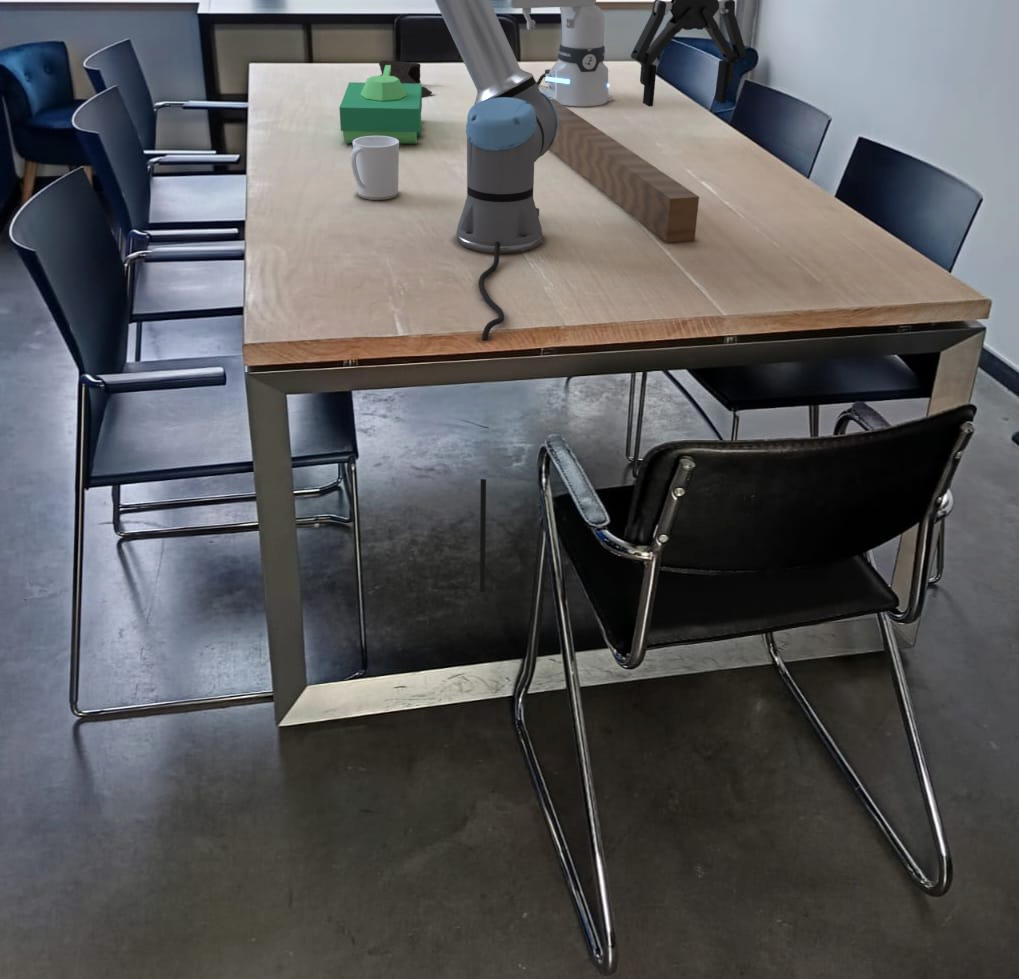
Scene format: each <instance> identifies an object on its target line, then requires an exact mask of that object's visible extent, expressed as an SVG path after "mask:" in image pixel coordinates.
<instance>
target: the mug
mask: <svg viewBox="0 0 1019 979" xmlns="http://www.w3.org/2000/svg"><path fill="white" fill-rule="evenodd" d="M399 160H400V143H399V141H398V140H397V139H396V138H393V137H388V136H364V137H359V138H356V139H354V140H353V143H352V152H351V154H350V165H351V169H352V170H351V171H352V172H353V177H354V179H355V181H356V190H357V195H358V196H359V197H360V198H361V199H366V200H370V201H371V200H372V201H381V200H382V201H383V200H390V199H393V198H396V197H397V196H398V194H399V173H400V172H399V169H400V168H399V164H400V161H399Z"/></svg>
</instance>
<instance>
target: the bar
mask: <svg viewBox="0 0 1019 979" xmlns="http://www.w3.org/2000/svg"><path fill="white" fill-rule="evenodd" d="M550 100H551V101H552V102H553V104H554V106H555V108H556V111H557V115H558V130H557V134H556V137H555V139H554V141H553V143H552V145H551V147H550V148H549V150H548V151H551V152H552V153H553V154H554V155H555V156H557V157H558V158H559V159H561V160H562V161H563V162H564V163H565V164H567V165H568V166H569V167H571V168H572V169H573V170H574V171H575V172H577V173H578V174H579V175H580V176H581V177H583V178H584V179H586V181H588V182H589V183H591V184H592V185H593V186H594V187H595V188H597V189H598V190H599V191H600V192H602V193H603V194H604V195H606V196H607V197H608V198H609V199H611V201H613V202H614V203H615V204H617V205H618V206H619V207H621V208H622V209H623V210H624V211H625V212H627V213H628V214H630V215H631V217H633V218H634V219H636V220H637V221H638V222H639V223H641V225H643V226H645V228H647V229H648V230H649V231H651V232H652V233H653V234H654V235H655V236H657V237H658V238H659V239H661V240H662V241H663V242H664V243H666V244H669V243H680V242H693V241H695V238H696V230H697V221H698V212H699V204H700V203H699V202H700V196H699V195H697V194H696V193H695V192H693V191H691V190H690V189H688V188H687V187H686V186H684V185H682V184H681V183H680V182H678V181H676V180H675V179H673V178H672V177H671V176H669V175H667V173H665V172H663V171H662V170H660V169H659V168H658V167H656V166H654V165H653V164H651V163H650V162H648V161H646V160H645V159H644V158H642V157H641V156H639V155H638V154H636V153H635V152H633V151H632V150H631V149H629V148H627V147H626V146H624V145H623V144H622V143H620V142H618V141H617V140H616V139H614V138H613V137H611V136H610V135H608V134H607V133H605V132H604V131H602V130H601V129H599V128H597V127H596V126H595V125H593V124H592V123H590V122H589V121H587V120H586V119H585V118H583V117H581V116H580V115H579V114H577V113H575V112H574V111H572V110H571V109H569V108H568V107H566V105H562V104H560V103H559V102H558V101H556V100H555V99H550Z"/></svg>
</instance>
